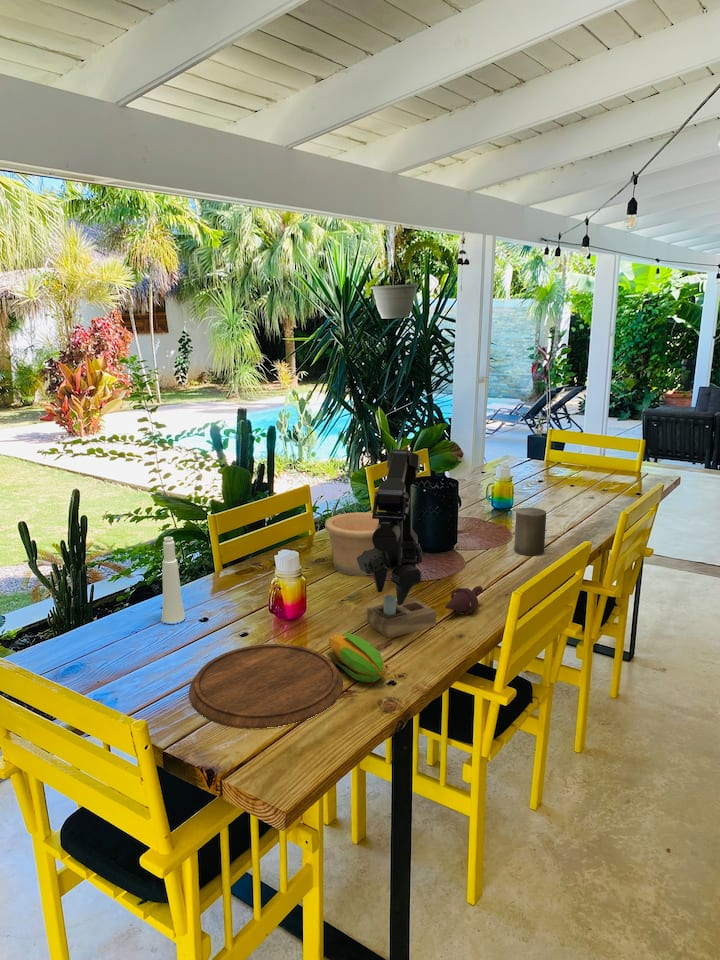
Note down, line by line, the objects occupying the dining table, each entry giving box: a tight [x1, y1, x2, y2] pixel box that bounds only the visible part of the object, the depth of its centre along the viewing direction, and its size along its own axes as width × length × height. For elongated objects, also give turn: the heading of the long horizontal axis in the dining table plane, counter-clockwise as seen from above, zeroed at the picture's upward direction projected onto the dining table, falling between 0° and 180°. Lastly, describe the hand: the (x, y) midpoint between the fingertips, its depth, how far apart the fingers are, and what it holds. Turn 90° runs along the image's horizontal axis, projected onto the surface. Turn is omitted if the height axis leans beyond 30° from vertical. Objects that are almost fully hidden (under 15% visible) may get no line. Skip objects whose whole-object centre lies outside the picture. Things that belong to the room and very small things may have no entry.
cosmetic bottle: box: [161, 536, 186, 623], centre depth 179 cm, size 6×6×22 cm
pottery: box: [324, 511, 379, 577], centre depth 218 cm, size 22×22×14 cm
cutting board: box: [188, 643, 344, 729], centre depth 150 cm, size 32×32×3 cm
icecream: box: [445, 585, 483, 616], centre depth 186 cm, size 7×7×15 cm
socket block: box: [366, 597, 437, 639], centre depth 179 cm, size 10×14×4 cm
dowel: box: [383, 594, 397, 616], centre depth 177 cm, size 3×3×8 cm
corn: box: [326, 632, 387, 683], centre depth 156 cm, size 7×8×20 cm
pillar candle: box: [513, 507, 547, 557], centre depth 232 cm, size 10×10×15 cm
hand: (389, 598), depth 175 cm, fingers open, 9 cm apart
